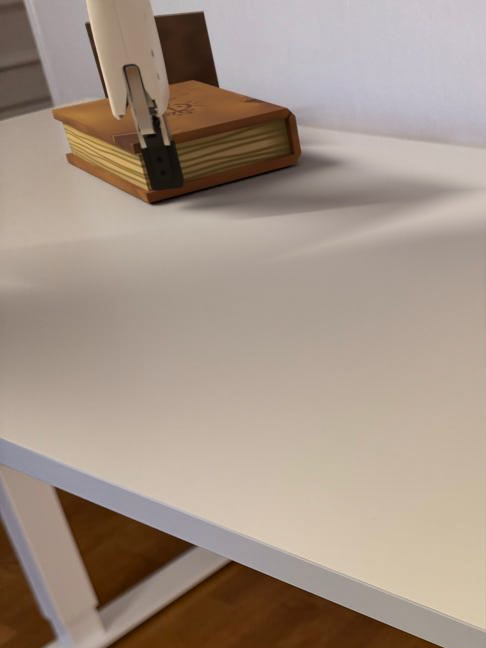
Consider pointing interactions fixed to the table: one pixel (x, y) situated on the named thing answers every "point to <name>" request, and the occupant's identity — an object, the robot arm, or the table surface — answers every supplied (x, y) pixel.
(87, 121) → the diary
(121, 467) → the table surface
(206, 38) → the bookend
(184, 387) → the table surface
